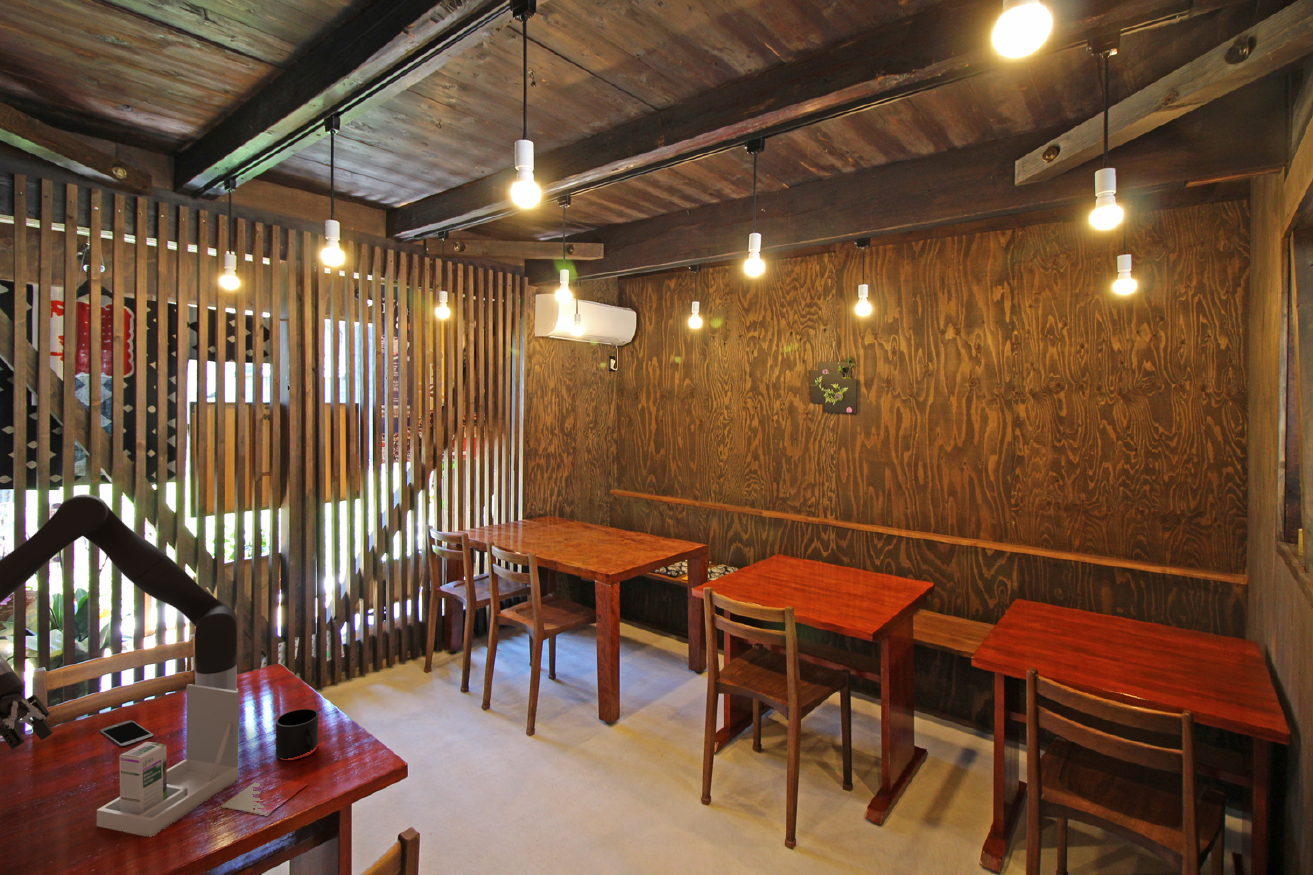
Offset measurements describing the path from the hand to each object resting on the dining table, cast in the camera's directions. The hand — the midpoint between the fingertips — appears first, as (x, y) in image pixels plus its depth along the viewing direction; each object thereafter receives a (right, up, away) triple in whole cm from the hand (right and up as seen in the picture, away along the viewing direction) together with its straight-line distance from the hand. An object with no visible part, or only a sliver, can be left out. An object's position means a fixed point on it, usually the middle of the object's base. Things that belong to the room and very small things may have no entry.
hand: (33, 741), depth 138 cm
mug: (+45, -15, +23) cm, 53 cm away
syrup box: (+26, -15, -2) cm, 30 cm away
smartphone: (-5, -13, +30) cm, 33 cm away
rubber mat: (+48, -15, +6) cm, 50 cm away
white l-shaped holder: (+29, -15, +2) cm, 32 cm away
